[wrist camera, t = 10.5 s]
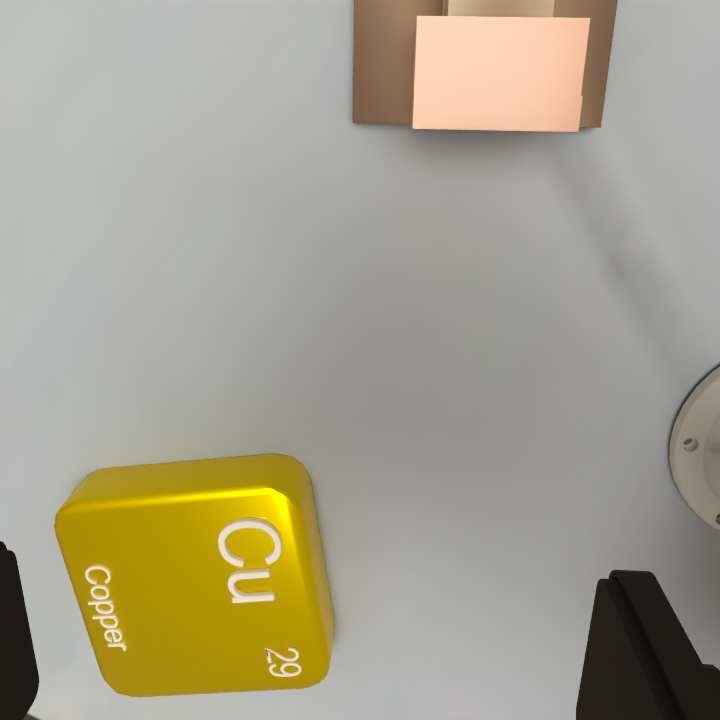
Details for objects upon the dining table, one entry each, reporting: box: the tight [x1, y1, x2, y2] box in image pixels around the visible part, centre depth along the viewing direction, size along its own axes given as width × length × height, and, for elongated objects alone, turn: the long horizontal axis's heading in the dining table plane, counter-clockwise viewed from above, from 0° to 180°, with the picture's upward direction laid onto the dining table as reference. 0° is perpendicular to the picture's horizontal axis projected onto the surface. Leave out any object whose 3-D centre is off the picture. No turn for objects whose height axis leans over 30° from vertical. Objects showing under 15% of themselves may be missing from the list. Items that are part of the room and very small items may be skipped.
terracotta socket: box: [410, 16, 590, 132], centre depth 29 cm, size 6×4×7 cm, turn 89°
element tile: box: [54, 454, 335, 697], centre depth 43 cm, size 15×15×5 cm
